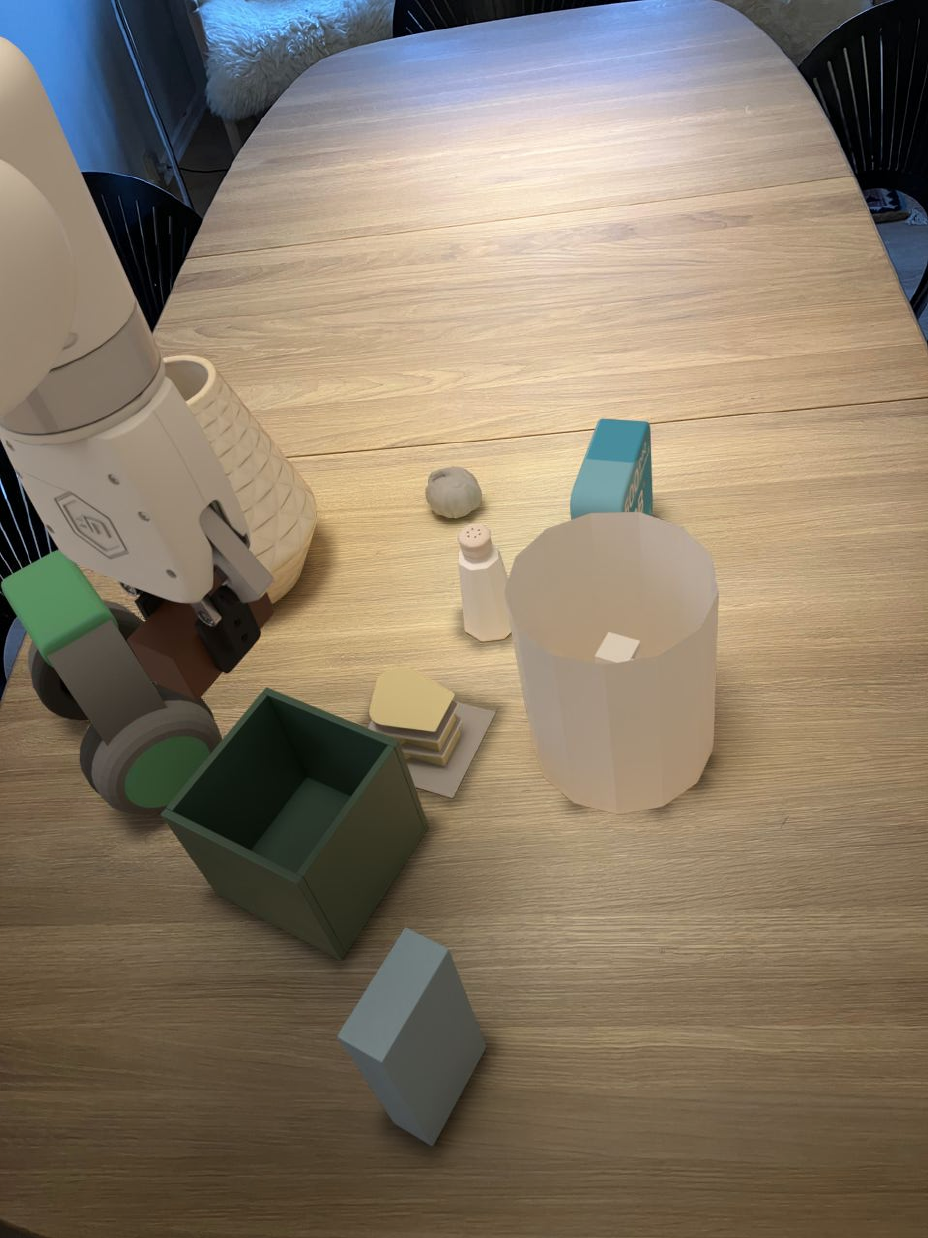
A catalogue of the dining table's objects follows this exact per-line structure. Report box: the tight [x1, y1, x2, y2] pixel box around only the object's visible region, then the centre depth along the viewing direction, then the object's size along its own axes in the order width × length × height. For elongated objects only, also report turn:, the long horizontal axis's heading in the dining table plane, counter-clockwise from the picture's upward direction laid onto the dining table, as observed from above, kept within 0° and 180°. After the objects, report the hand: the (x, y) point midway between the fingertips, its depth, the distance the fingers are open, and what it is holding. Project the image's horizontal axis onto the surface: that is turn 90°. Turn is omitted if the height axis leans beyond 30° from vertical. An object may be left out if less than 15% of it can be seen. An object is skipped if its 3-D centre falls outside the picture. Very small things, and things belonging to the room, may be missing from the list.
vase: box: [162, 354, 318, 605], centre depth 95 cm, size 17×17×23 cm
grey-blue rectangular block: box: [336, 927, 487, 1147], centre depth 62 cm, size 7×3×15 cm, turn 149°
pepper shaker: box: [457, 523, 512, 643], centre depth 90 cm, size 5×5×11 cm
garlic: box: [424, 465, 483, 519], centre depth 104 cm, size 6×5×5 cm
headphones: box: [0, 549, 223, 817], centre depth 84 cm, size 19×11×20 cm, turn 36°
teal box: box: [569, 418, 654, 520], centre depth 93 cm, size 12×4×12 cm, turn 162°
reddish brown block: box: [127, 572, 276, 701], centre depth 56 cm, size 7×4×4 cm, turn 149°
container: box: [504, 512, 720, 815], centre depth 77 cm, size 14×14×18 cm
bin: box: [160, 686, 430, 962], centre depth 76 cm, size 12×12×12 cm
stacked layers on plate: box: [367, 665, 497, 799], centre depth 85 cm, size 10×9×6 cm
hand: (211, 640), depth 57 cm, fingers closed on reddish brown block, 3 cm apart
